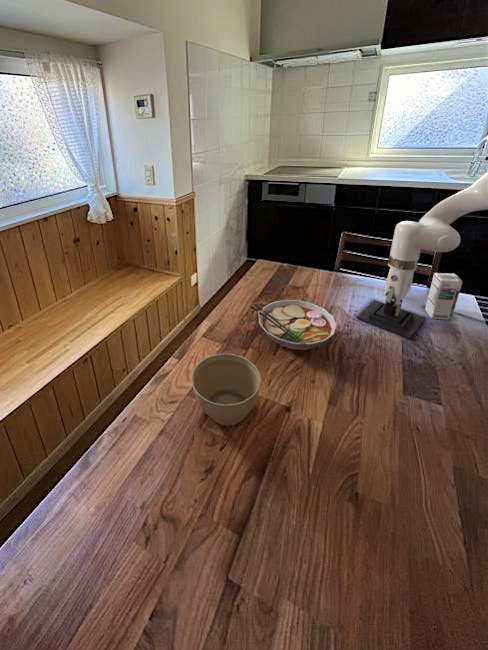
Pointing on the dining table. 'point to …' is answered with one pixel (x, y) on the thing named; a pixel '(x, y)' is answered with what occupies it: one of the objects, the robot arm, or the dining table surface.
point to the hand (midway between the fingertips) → (391, 311)
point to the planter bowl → (226, 387)
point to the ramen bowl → (296, 323)
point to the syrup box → (443, 295)
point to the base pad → (403, 329)
